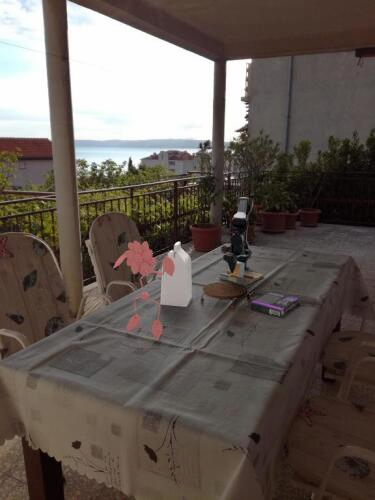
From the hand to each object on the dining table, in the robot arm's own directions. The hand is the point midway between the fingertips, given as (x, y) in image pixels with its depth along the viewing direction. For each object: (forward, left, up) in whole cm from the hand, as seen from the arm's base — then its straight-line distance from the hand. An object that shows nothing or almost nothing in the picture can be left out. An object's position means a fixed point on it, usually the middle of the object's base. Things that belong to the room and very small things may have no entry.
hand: (236, 271), depth 202 cm
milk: (+43, -4, -5) cm, 43 cm away
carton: (0, 0, -3) cm, 3 cm away
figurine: (+79, +10, -5) cm, 79 cm away
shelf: (-6, 0, -5) cm, 8 cm away
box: (+19, +31, -6) cm, 37 cm away
